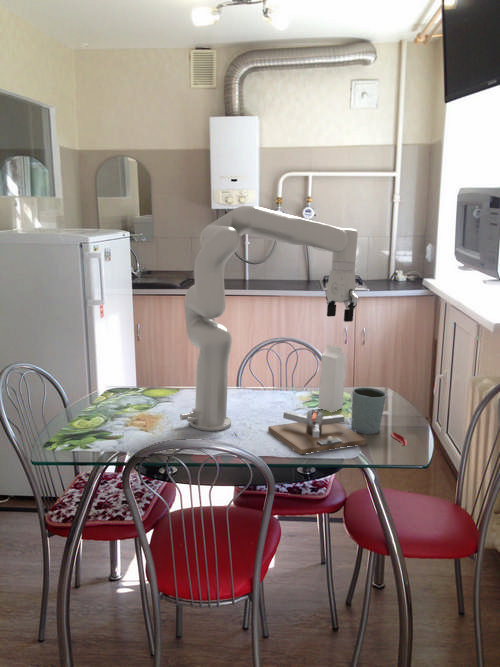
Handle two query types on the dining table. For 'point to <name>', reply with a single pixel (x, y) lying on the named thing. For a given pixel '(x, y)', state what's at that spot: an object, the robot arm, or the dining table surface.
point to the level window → (329, 442)
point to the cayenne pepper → (399, 438)
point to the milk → (332, 379)
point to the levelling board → (307, 443)
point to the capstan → (314, 420)
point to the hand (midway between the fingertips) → (339, 318)
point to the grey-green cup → (367, 409)
